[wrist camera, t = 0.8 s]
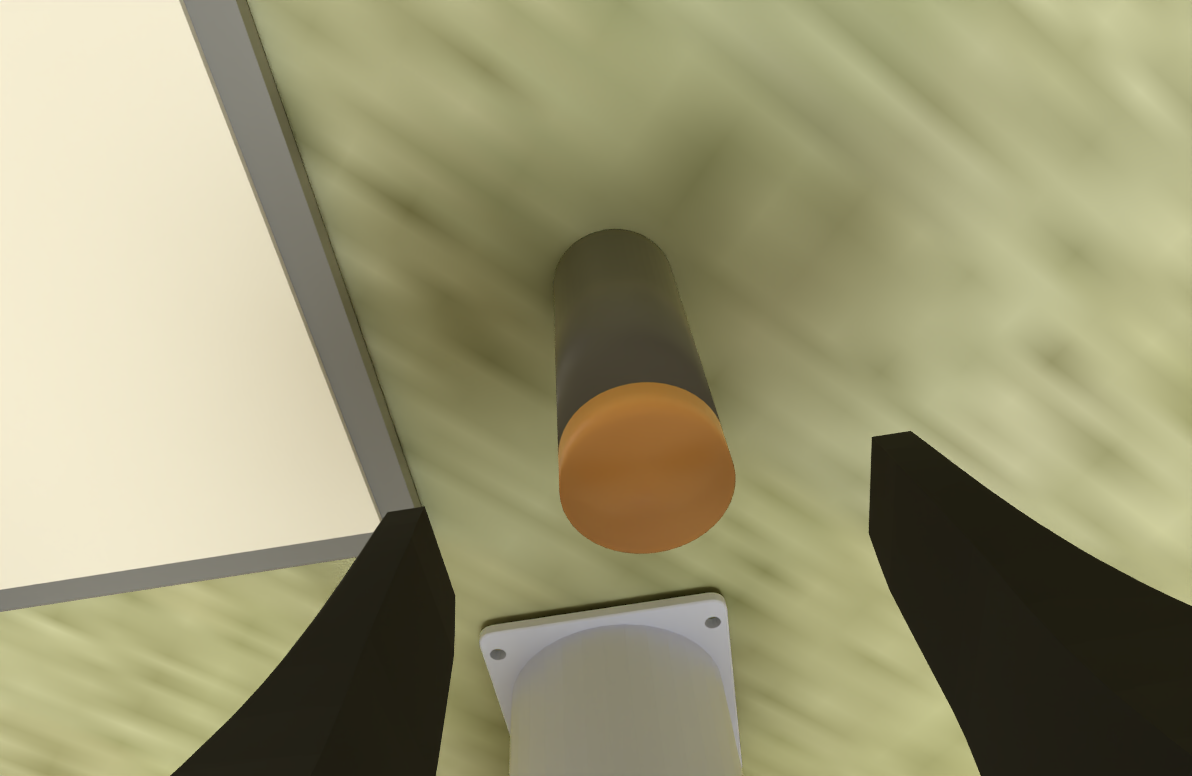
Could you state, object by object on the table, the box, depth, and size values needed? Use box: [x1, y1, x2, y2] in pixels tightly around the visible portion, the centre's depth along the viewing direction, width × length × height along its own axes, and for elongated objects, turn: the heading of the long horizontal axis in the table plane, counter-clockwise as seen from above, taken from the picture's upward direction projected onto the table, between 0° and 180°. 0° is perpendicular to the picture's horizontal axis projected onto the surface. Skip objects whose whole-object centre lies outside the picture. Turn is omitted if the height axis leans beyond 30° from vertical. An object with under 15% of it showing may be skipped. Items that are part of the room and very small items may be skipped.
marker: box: [553, 229, 735, 554], centre depth 18 cm, size 3×3×8 cm
